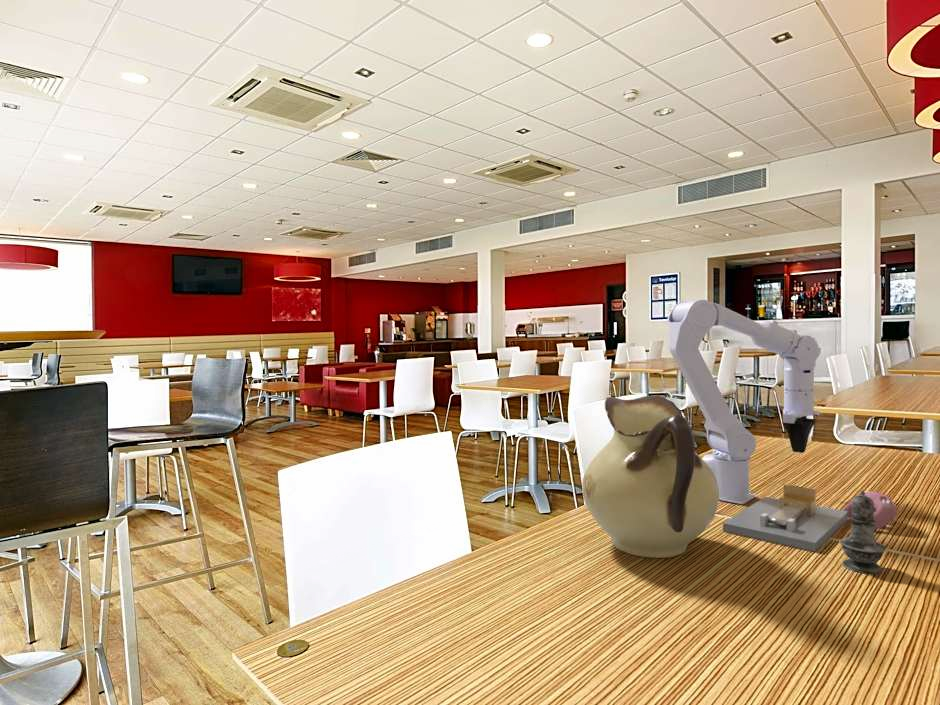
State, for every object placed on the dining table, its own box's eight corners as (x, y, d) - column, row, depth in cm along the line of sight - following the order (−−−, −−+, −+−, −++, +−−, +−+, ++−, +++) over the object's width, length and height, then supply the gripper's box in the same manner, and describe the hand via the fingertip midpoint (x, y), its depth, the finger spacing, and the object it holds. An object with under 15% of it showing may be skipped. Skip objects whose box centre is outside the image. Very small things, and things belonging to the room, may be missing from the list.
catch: (779, 510, 114) (779, 487, 114) (784, 506, 116) (784, 484, 116) (811, 516, 110) (811, 492, 110) (815, 512, 112) (815, 489, 112)
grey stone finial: (878, 561, 93) (879, 486, 92) (891, 577, 87) (892, 496, 87) (835, 557, 95) (835, 483, 94) (845, 572, 89) (845, 494, 89)
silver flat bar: (767, 523, 106) (767, 517, 106) (789, 507, 115) (789, 502, 115) (785, 527, 104) (785, 521, 104) (807, 510, 112) (807, 505, 112)
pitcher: (626, 515, 118) (624, 390, 117) (748, 545, 101) (748, 400, 100) (557, 547, 102) (555, 404, 101) (689, 589, 85) (688, 417, 84)
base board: (723, 531, 108) (722, 513, 108) (765, 503, 124) (765, 488, 123) (815, 551, 97) (815, 532, 97) (848, 519, 113) (848, 502, 113)
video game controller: (887, 541, 106) (907, 507, 105) (862, 528, 106) (882, 495, 105) (862, 523, 115) (880, 491, 114) (839, 511, 116) (857, 480, 115)
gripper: (809, 394, 121) (809, 460, 122) (828, 388, 131) (828, 448, 132) (772, 392, 126) (772, 455, 127) (793, 386, 136) (793, 444, 137)
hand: (798, 451), depth 130 cm, fingers closed
